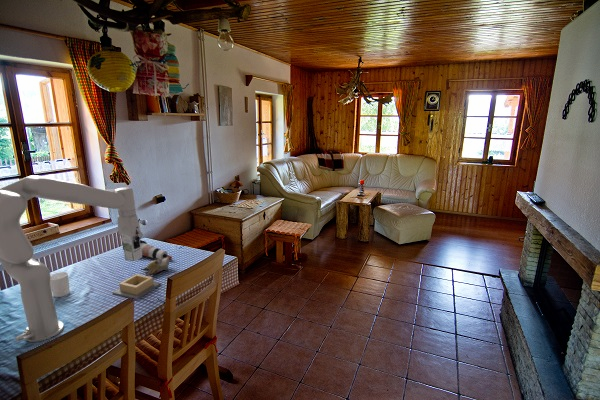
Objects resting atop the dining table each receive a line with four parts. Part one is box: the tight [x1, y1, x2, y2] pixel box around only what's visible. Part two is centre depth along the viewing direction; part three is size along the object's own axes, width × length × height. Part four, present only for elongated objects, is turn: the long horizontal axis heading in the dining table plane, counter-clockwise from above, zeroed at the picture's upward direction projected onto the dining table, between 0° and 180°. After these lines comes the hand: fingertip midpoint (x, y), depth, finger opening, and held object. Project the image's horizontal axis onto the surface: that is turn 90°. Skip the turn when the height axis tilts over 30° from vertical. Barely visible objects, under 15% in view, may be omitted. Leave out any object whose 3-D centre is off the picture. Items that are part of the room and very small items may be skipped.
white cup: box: [50, 271, 71, 298], centre depth 162 cm, size 8×8×10 cm
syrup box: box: [121, 233, 143, 262], centre depth 162 cm, size 6×6×14 cm
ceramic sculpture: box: [140, 257, 170, 277], centre depth 186 cm, size 11×9×15 cm
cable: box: [122, 239, 173, 261], centre depth 205 cm, size 10×34×10 cm, turn 69°
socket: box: [111, 273, 162, 301], centre depth 167 cm, size 16×16×5 cm
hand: (132, 246), depth 162 cm, fingers closed on syrup box, 5 cm apart
